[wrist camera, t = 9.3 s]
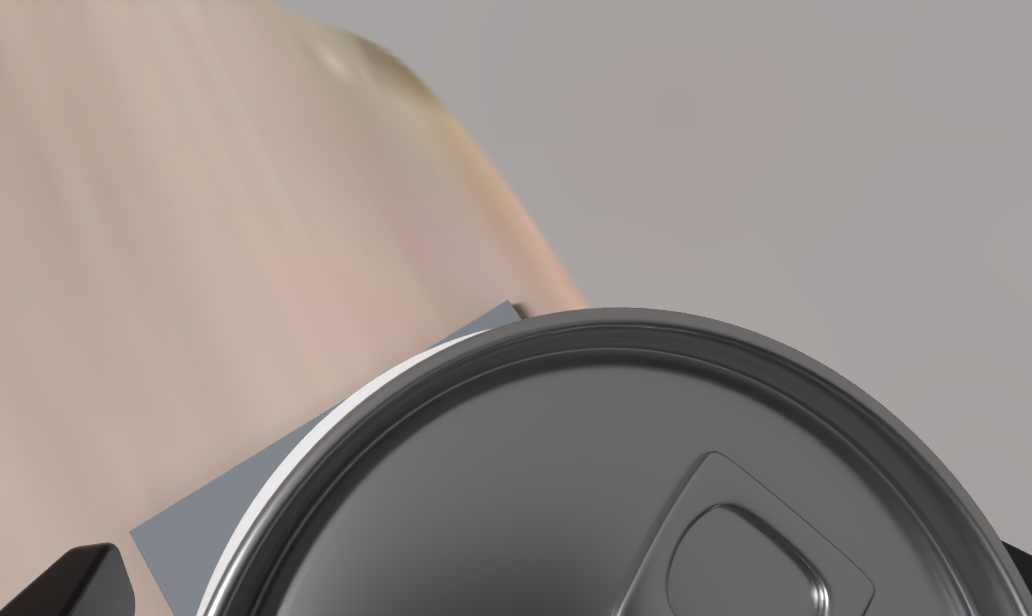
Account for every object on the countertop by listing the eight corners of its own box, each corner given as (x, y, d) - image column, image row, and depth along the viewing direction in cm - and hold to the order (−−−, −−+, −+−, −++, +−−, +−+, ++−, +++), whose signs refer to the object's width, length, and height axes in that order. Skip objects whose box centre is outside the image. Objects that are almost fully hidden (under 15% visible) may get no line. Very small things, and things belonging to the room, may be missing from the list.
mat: (741, 641, 16) (749, 644, 16) (376, 978, 13) (374, 990, 13) (505, 304, 18) (507, 299, 17) (136, 531, 15) (129, 531, 14)
